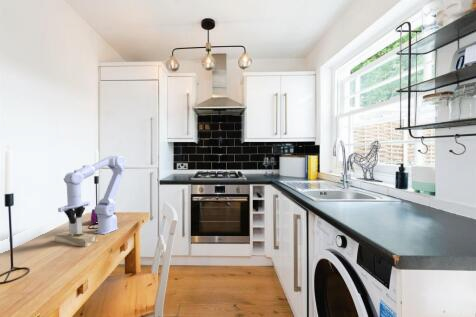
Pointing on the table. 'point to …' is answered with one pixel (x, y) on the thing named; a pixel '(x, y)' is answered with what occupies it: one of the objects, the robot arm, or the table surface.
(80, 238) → the post beam
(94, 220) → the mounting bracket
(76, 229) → the rectangular metal block
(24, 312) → the table surface
